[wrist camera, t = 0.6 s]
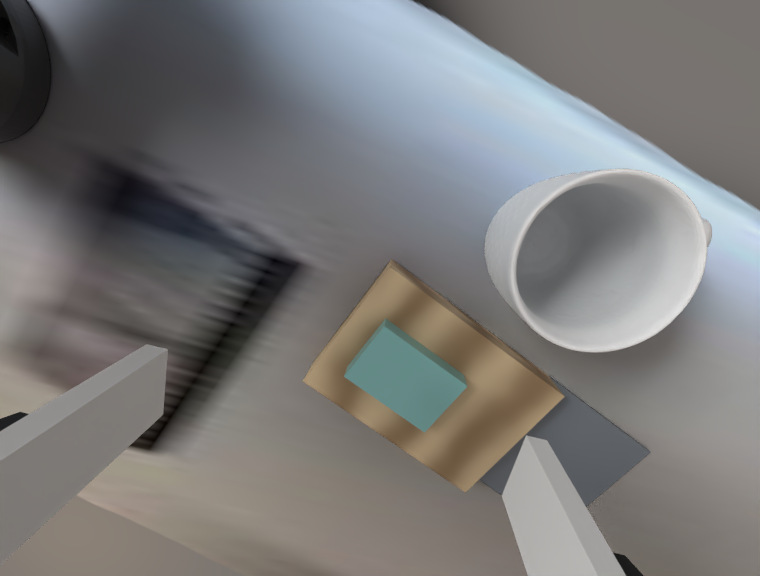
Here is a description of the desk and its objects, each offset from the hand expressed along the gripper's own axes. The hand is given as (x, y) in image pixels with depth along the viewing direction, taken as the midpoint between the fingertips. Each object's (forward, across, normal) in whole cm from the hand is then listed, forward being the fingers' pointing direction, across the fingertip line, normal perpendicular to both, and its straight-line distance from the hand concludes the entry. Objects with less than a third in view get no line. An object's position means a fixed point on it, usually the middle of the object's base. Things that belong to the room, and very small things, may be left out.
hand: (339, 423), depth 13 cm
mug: (+23, +14, +7) cm, 28 cm away
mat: (+23, +23, -15) cm, 35 cm away
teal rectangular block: (+19, +4, -7) cm, 21 cm away
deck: (+23, +7, -8) cm, 25 cm away
